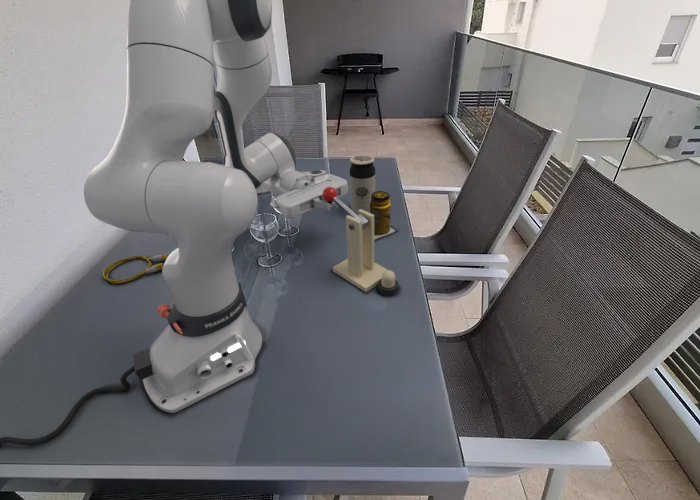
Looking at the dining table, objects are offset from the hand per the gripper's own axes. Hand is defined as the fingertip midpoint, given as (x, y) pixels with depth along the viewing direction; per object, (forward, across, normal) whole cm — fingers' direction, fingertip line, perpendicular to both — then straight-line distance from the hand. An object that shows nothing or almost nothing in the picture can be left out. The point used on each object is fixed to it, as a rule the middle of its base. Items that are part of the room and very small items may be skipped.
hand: (333, 205), depth 85 cm
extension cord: (-36, -41, +17) cm, 57 cm away
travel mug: (-14, +24, +16) cm, 32 cm away
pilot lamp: (+18, 0, +16) cm, 24 cm away
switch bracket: (+9, 0, +16) cm, 19 cm away
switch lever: (+3, 0, +1) cm, 3 cm away
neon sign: (-58, +17, +16) cm, 63 cm away
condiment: (-2, +18, +16) cm, 25 cm away
